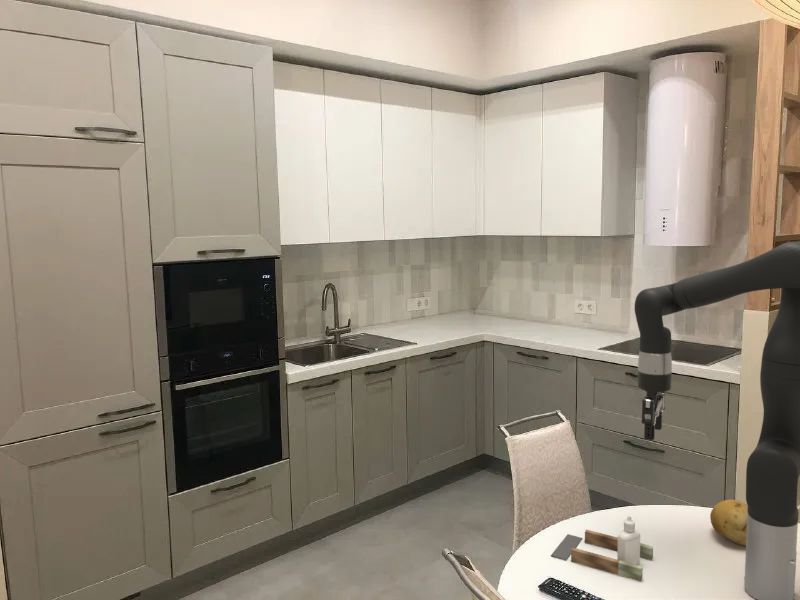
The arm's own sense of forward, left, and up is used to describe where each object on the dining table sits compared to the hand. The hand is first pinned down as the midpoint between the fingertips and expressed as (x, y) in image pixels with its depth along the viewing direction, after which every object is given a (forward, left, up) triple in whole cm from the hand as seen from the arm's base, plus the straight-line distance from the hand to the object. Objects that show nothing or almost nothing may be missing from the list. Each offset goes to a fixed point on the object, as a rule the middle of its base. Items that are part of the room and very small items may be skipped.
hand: (653, 434), depth 154 cm
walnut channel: (+6, +13, -28) cm, 32 cm away
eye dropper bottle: (+2, +13, -28) cm, 31 cm away
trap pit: (+17, +13, -28) cm, 35 cm away
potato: (-17, -12, -28) cm, 35 cm away
